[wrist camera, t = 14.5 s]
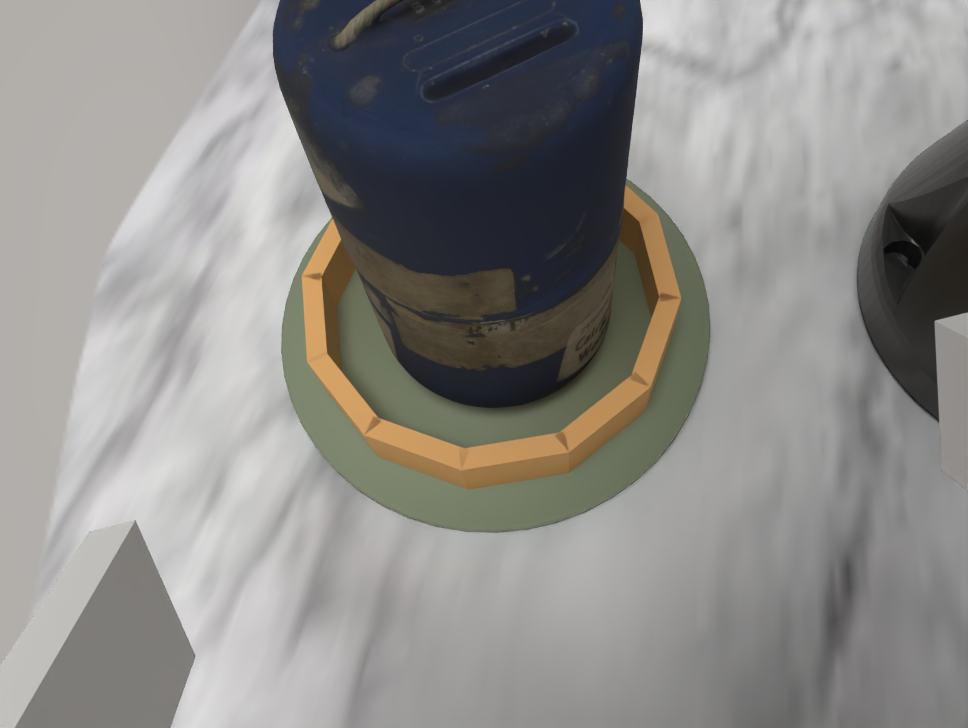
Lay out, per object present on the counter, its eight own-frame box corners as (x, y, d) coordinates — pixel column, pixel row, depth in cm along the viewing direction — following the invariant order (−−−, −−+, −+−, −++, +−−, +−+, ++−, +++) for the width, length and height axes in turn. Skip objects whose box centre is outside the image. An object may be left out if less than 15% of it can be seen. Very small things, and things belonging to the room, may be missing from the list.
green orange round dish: (522, 92, 42) (518, 41, 39) (800, 344, 35) (821, 306, 32) (211, 306, 38) (181, 268, 35) (453, 631, 32) (441, 618, 29)
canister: (368, 249, 38) (218, -130, 22) (575, 196, 38) (581, -220, 22) (412, 448, 34) (268, 166, 18) (643, 387, 34) (712, 53, 18)
